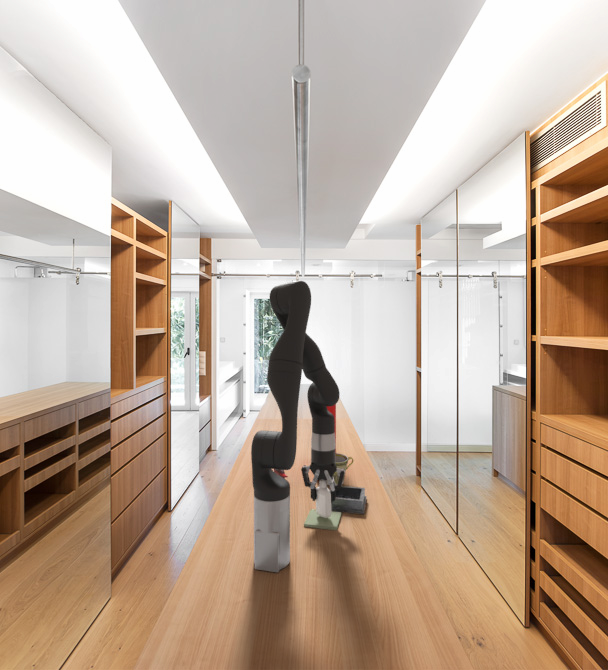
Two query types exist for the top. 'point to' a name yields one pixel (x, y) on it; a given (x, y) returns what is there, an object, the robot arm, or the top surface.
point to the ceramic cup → (341, 465)
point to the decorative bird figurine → (280, 473)
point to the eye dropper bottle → (323, 499)
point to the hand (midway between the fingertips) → (323, 500)
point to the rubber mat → (322, 520)
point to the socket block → (349, 500)
